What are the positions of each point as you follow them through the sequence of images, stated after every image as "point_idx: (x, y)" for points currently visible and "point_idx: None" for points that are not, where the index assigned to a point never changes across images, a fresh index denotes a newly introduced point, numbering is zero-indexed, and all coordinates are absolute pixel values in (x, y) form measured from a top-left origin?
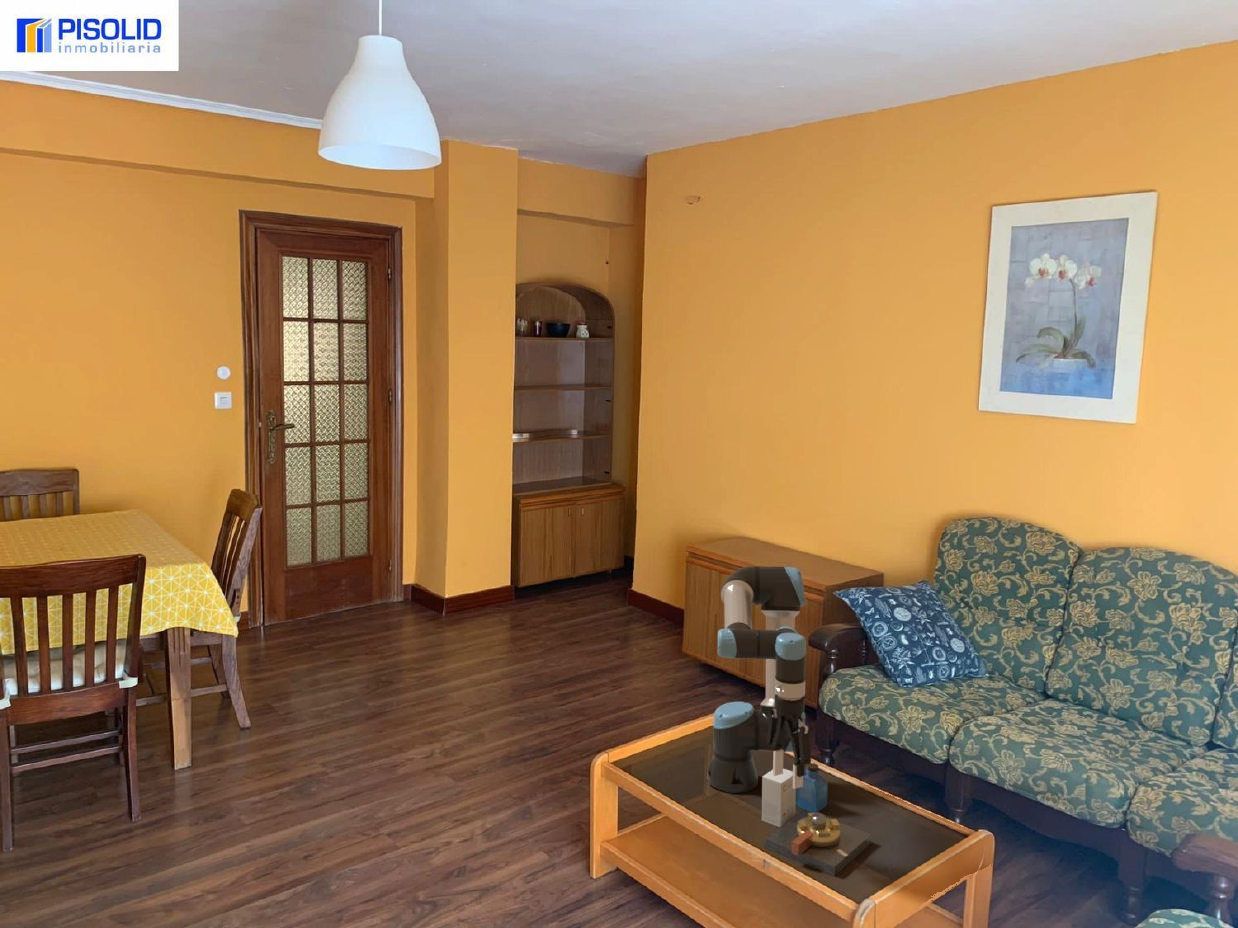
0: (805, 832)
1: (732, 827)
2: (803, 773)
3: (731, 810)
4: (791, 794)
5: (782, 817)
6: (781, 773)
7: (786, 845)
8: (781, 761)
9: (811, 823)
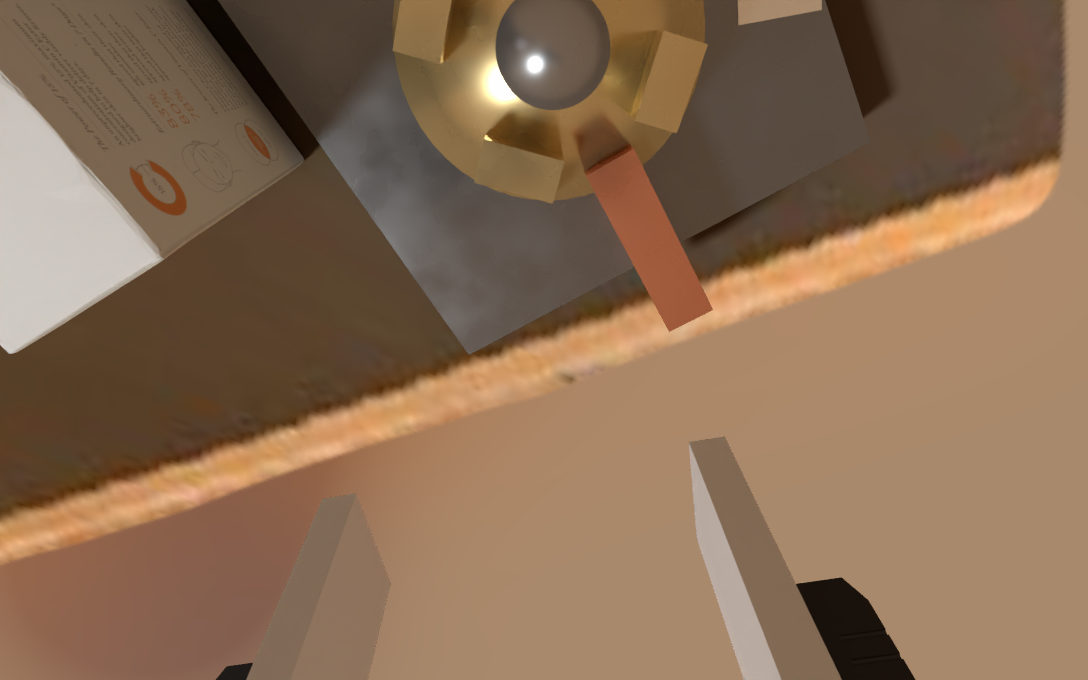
0: (610, 199)
1: (254, 392)
2: (877, 628)
3: (73, 329)
4: (127, 62)
5: (276, 159)
6: (362, 516)
7: (570, 284)
8: (321, 655)
9: (488, 70)
